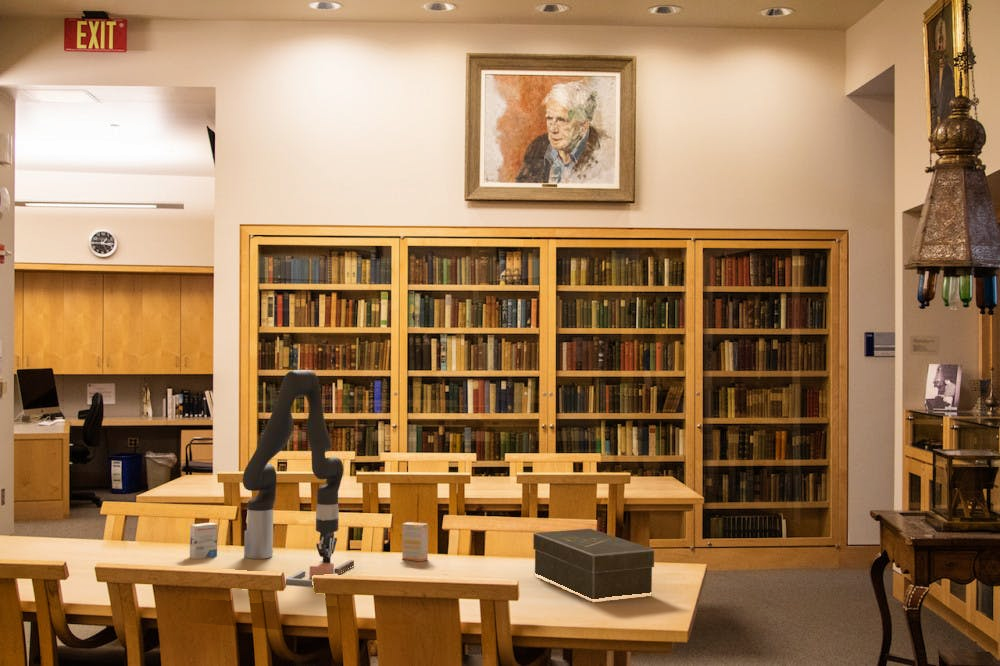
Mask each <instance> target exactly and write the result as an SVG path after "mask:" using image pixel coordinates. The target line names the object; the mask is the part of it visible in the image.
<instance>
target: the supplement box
mask: <svg viewBox="0 0 1000 666" xmlns="http://www.w3.org/2000/svg"><path fill="white" fill-rule="evenodd" d="M428 528H429V523H427V522H426V523H424V522H414V521H407V522H403V523H402V550H401V551H402V557H401V558H402V560H406V561H415V562H425V561H426V560H428V557H429V554H428V551H429V550H428V546H429V545H428V544H429V542H428V539H429V538H428V537H429V535H428V534H429V533H428V531H429V529H428Z"/></svg>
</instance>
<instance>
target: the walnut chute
mask: <svg viewBox="0 0 1000 666" xmlns="http://www.w3.org/2000/svg"><path fill="white" fill-rule="evenodd" d="M319 563H323V560H321V561H319ZM352 566H355V560H352V559H351V560H348V561H346V562H344V563H343V564H340V565H339V566H337V567H335V568H334V573H338V574H339V575H341V574H342V573H341V572H343V571H345V570H347V569H348V568H350V567H352ZM352 568H353V567H352ZM350 569H351V568H350ZM348 570H349V569H348ZM348 570H347V571H348ZM345 572H346V571H345ZM340 573H341V574H340ZM343 573H344V572H343Z"/></svg>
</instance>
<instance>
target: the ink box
mask: <svg viewBox="0 0 1000 666" xmlns="http://www.w3.org/2000/svg"><path fill="white" fill-rule="evenodd" d="M218 525H219V524H217V523H214V522H203V523H194V524H190V525H189V526H190V532H189V533H190V534H189V557H190V558H192V559H194V560H197V559H199V560H200V559H206V558H215V557H218V527H219V526H218Z"/></svg>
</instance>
